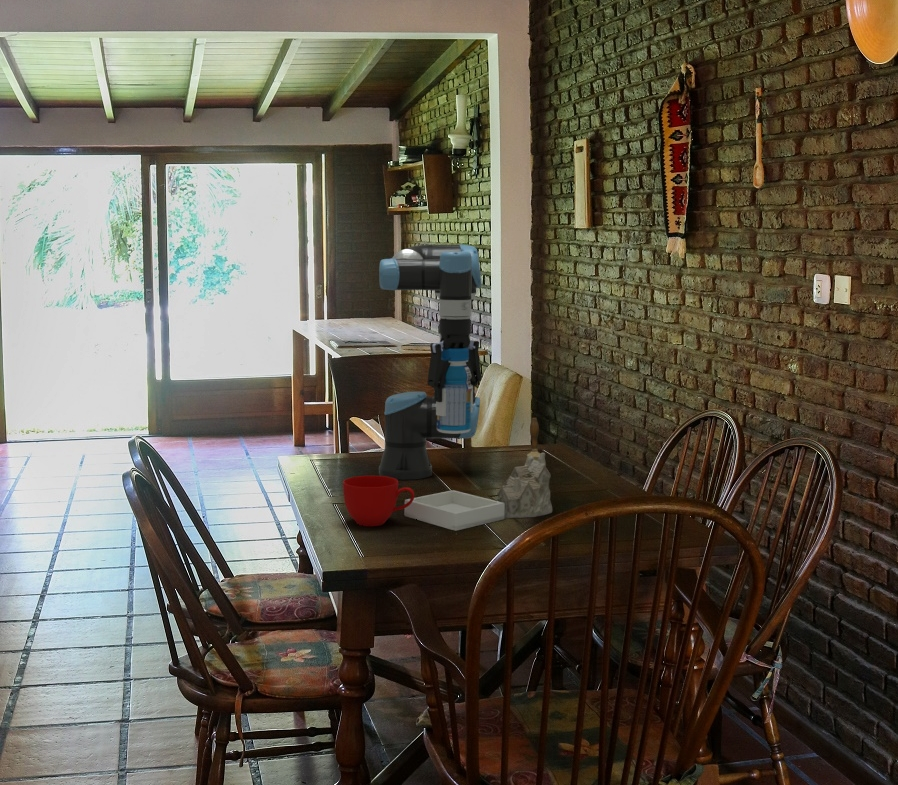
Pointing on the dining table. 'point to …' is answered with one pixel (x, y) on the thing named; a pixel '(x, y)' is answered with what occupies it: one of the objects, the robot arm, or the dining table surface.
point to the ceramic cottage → (527, 490)
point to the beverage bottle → (456, 393)
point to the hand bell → (534, 439)
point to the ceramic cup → (372, 498)
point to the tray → (455, 510)
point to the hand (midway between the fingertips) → (454, 413)
